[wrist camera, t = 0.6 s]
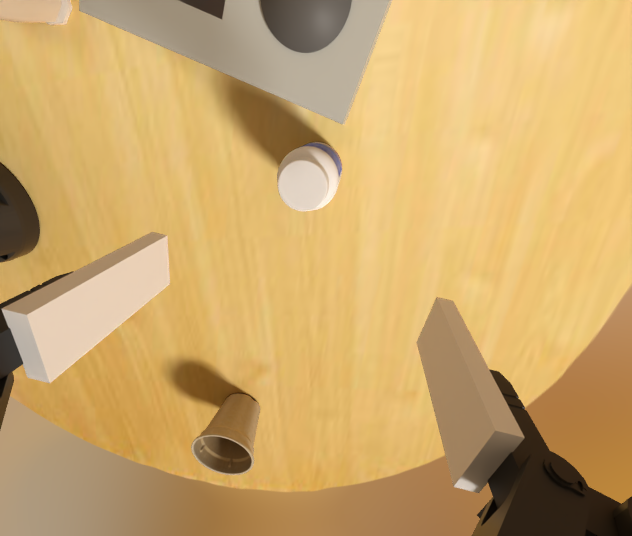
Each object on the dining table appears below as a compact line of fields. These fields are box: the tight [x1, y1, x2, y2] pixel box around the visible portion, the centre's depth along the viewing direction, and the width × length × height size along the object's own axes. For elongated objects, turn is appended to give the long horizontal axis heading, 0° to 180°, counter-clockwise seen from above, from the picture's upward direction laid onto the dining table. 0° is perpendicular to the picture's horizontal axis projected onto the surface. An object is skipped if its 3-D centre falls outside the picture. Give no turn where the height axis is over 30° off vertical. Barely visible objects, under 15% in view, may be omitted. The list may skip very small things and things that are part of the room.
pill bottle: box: [277, 142, 342, 211], centre depth 27 cm, size 5×5×10 cm
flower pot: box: [191, 393, 260, 475], centre depth 46 cm, size 9×9×9 cm
